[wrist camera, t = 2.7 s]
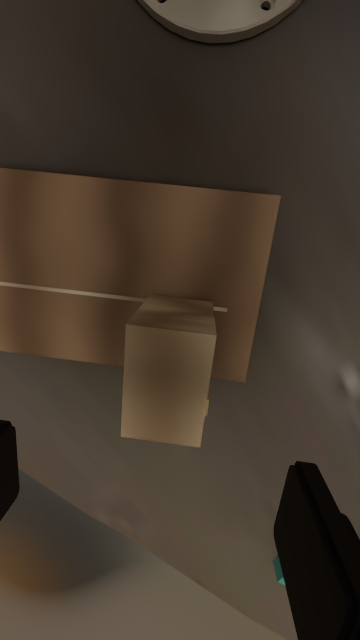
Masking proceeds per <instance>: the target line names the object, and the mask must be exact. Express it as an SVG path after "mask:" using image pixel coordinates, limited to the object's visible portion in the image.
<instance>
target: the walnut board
mask: <svg viewBox="0 0 360 640" xmlns="http://www.w3.org/2000/svg"><path fill="white" fill-rule="evenodd" d="M280 198H281V196H279V195H269V194H259V193H249V192H239V191H229V190H218V189H208V188H198V187H188V186H178V185H168V184H158V183H148V182H138V181H128V180H118V179H108V178H98V177H88V176H77V175H67V174H57V173H47V172H37V171H27V170H17V169H7V168H0V351H5V352H13V353H21V354H29V355H37V356H44V357H52V358H60V359H68V360H76V361H83V362H91V363H99V364H107V365H115V366H122V367H124V355H125V333H126V324H127V322H128V321H129V320H130V319H131V317H132V316H133V315H134V314H135V312H136V311H137V310H138V309H139V308H140V306H141V305H142V304H143V303H144V301H145V300H146V299H147V298H148V296H149V295H159V296H168V297H176V298H185V299H193V300H202V301H211V302H213V308H214V317H215V325H216V334H217V337H216V343H215V350H214V357H213V363H212V370H211V377H210V378H216V379H224V380H232V381H239V382H245V380H246V375H247V370H248V364H249V359H250V354H251V349H252V344H253V338H254V333H255V328H256V323H257V318H258V312H259V307H260V302H261V297H262V292H263V286H264V281H265V276H266V271H267V266H268V260H269V255H270V250H271V245H272V240H273V234H274V229H275V224H276V219H277V214H278V208H279V203H280Z"/></svg>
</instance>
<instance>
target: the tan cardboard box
mask: <svg viewBox="0 0 360 640" xmlns="http://www.w3.org/2000/svg"><path fill="white" fill-rule="evenodd" d="M216 337H217V334H216V325H215V317H214V308H213V302H211V301H202V300H193V299H185V298H176V297H168V296H159V295H149V296H148V298H147V299H146V300H145V301H144V303H143V304H142V305H141V306H140V308H139V309H138V310H137V311H136V312H135V314H134V315H133V316H132V317H131V319H130V320H129V321H128V322H127V324H126V333H125V355H124V378H123V400H122V423H121V437H128V438H135V439H142V440H150V441H157V442H164V443H171V444H178V445H185V446H193V447H200V444H201V437H202V430H203V424H204V417H205V416H207V411H208V404H209V383H210V377H211V370H212V363H213V357H214V350H215V343H216Z"/></svg>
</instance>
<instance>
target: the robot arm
mask: <svg viewBox="0 0 360 640" xmlns="http://www.w3.org/2000/svg"><path fill="white" fill-rule="evenodd" d="M138 1H139V3H140V4H141V5H142V6H143V7H144V8H145V10H146V11H147V12H148V13H149V14H150V15H151V16H152V17H153V18H154V19H156V20H157V21H158V22H159V23H161V24H162V25H163V26H165V27H166V28H167V29H169V30H170V31H172V32H175V33H177V34H179V35H181V36H183V37H186V38H188V39H191V40H196V41H201V42H206V43H230V42H235V41H238V40H242V39H246V38H249V37H253V36H255V35H257V34H259V33H261V32H263V31H265V30H267V29H268V28H270V27H272V26H274V25H276V24H277V23H278V22H279V21H281V20H282V19H283V18H284V17H286V16H287V15H288V14H290V13H291V12H292V11H293V10H295V9H296V7H297V6H298V5H299V4H300V3H301V2H302V1H303V0H166V2H164V3H160V2H161V1H162V0H138ZM262 7H266V8H268V10H267V11H265V10H263V9H262ZM18 493H19V475H18V460H17V445H16V431H15V427H14V426H12V424H11V422H10V421H5V420H0V521H1V519H2V518H3V516H4V515H5V514H6V512H7V511H8V509H9V508H10V507H11V505H12V503H13V502H14V501H15V499H16V498H17V495H18ZM274 539H275V544H276V548H277V552H278V556H279V561H280V565H281V569H282V573H283V578H284V582H285V586H286V590H287V594H288V599H289V603H290V607H291V611H292V616H293V620H294V624H295V628H296V633H297V637H298V640H360V540H359V538H358V536H357V534H356V532H355V530H354V528H353V526H352V524H351V522H350V521H349V519H348V517H347V516H346V515H344V514H342V513H340V511H339V509H338V507H337V505H336V503H335V501H334V499H333V497H332V495H331V493H330V491H329V489H328V487H327V485H326V483H325V481H324V479H323V477H322V475H321V473H320V471H319V469H318V467H317V465H316V464H314V463H307V462H300V461H296V463H295V465H290V467H289V470H288V473H287V477H286V481H285V485H284V489H283V493H282V497H281V501H280V505H279V509H278V512H277V516H276V520H275V524H274Z"/></svg>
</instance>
